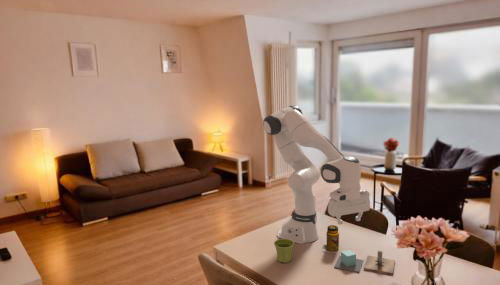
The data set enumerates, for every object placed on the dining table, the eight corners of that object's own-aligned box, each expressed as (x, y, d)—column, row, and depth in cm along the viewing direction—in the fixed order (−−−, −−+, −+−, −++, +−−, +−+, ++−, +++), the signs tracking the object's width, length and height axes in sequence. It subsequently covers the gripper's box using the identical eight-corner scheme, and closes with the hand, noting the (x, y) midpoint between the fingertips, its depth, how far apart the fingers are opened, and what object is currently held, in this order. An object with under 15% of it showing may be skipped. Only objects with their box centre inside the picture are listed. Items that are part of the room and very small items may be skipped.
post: (363, 269, 157) (364, 255, 155) (367, 257, 167) (367, 243, 166) (392, 275, 151) (393, 260, 150) (394, 262, 162) (395, 248, 161)
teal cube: (340, 261, 163) (341, 251, 162) (349, 259, 165) (349, 249, 164) (346, 266, 159) (347, 256, 158) (355, 264, 160) (356, 254, 159)
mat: (334, 268, 159) (334, 266, 159) (339, 256, 169) (339, 255, 169) (359, 272, 154) (359, 271, 154) (362, 261, 164) (362, 259, 164)
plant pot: (271, 257, 170) (270, 241, 169) (288, 253, 174) (287, 237, 172) (280, 266, 162) (279, 249, 160) (297, 262, 165) (297, 244, 164)
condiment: (339, 253, 172) (339, 230, 170) (321, 251, 175) (321, 228, 173) (339, 246, 179) (340, 224, 177) (323, 244, 182) (323, 223, 179)
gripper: (364, 188, 162) (363, 216, 164) (326, 193, 155) (325, 223, 158) (373, 191, 156) (372, 221, 158) (334, 198, 149) (333, 228, 152)
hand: (349, 222), depth 158 cm, fingers open, 8 cm apart
